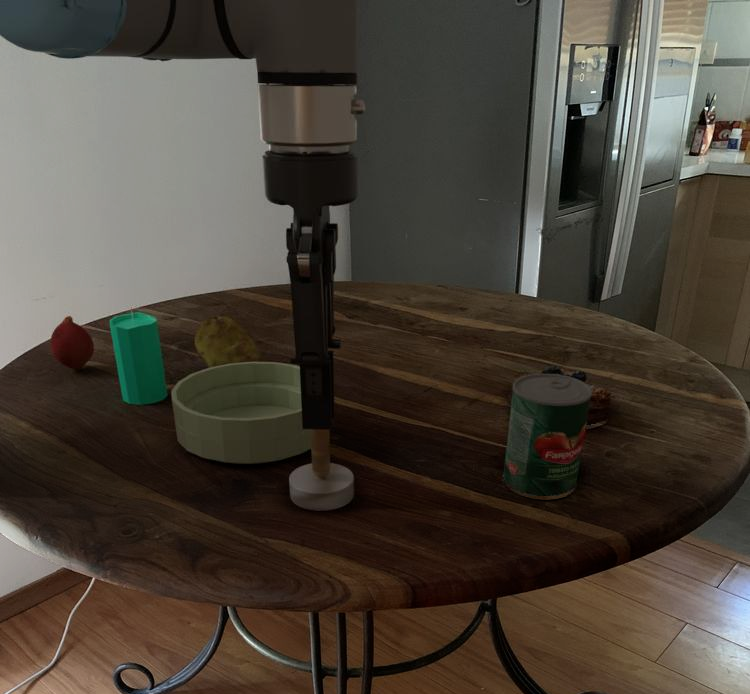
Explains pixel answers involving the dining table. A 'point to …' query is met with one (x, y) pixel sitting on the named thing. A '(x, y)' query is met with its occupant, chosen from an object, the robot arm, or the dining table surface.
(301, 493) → the paper towel holder
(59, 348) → the onion
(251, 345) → the potato
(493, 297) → the dining table surface
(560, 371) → the pastry
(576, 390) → the canned tomato
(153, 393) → the candle
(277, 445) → the bowl
